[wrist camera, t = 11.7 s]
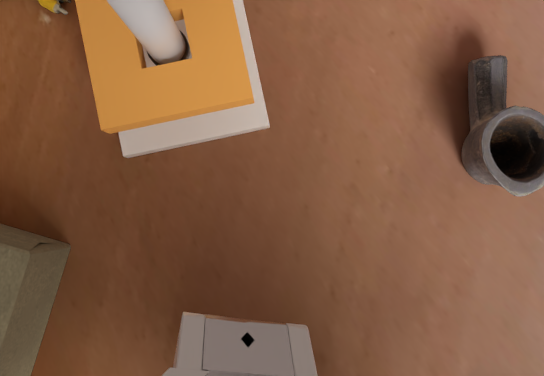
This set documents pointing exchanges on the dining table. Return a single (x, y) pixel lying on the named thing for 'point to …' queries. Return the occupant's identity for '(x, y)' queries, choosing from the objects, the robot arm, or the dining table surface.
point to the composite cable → (54, 5)
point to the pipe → (501, 132)
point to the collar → (164, 66)
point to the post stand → (175, 47)
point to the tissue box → (26, 295)
